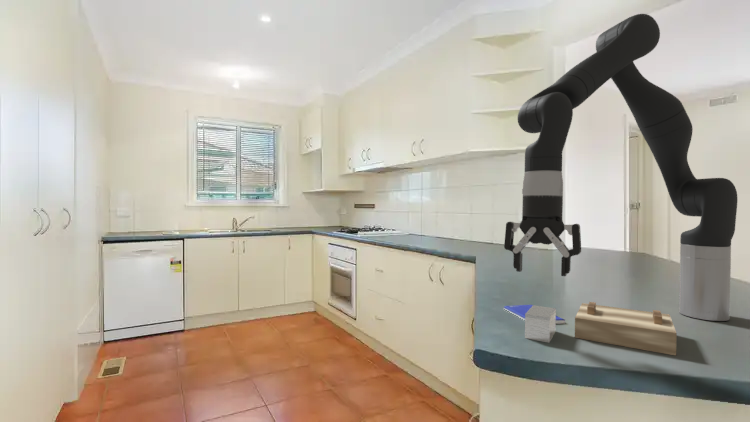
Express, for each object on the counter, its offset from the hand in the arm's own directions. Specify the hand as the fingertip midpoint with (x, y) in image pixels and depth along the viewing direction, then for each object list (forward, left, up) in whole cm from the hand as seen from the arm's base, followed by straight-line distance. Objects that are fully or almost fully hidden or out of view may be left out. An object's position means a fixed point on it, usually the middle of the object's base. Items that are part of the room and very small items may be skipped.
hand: (540, 273), depth 78 cm
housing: (0, 0, -13) cm, 13 cm away
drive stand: (-9, +14, -13) cm, 21 cm away
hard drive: (-13, -4, -13) cm, 19 cm away
